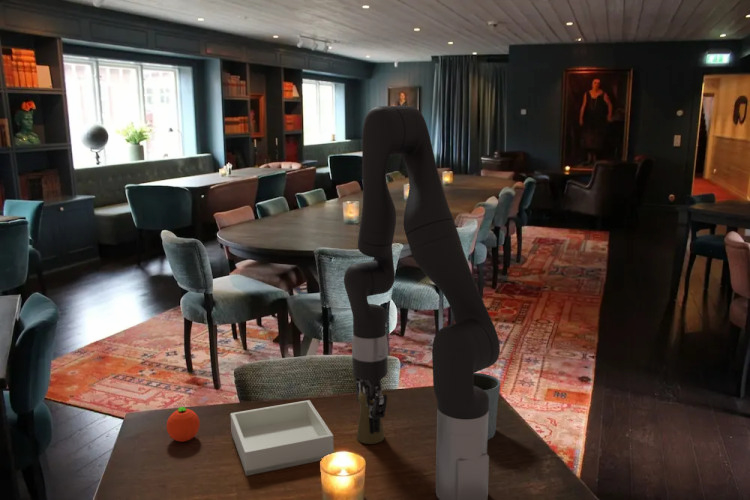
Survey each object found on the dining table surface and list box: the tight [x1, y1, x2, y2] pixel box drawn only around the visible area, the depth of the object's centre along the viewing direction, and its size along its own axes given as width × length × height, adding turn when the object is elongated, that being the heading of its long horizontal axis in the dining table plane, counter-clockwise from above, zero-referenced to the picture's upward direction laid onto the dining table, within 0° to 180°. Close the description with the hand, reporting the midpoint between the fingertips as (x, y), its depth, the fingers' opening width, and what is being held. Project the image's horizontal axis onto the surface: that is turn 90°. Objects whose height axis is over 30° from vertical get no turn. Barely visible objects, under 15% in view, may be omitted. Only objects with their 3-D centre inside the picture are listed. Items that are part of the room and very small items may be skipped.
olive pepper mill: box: [356, 390, 385, 445], centre depth 137 cm, size 6×6×11 cm
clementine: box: [166, 406, 201, 442], centre depth 137 cm, size 8×7×7 cm
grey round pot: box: [473, 372, 501, 441], centre depth 139 cm, size 10×10×12 cm
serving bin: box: [230, 399, 335, 477], centre depth 134 cm, size 18×18×5 cm
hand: (370, 427), depth 137 cm, fingers closed on olive pepper mill, 4 cm apart
